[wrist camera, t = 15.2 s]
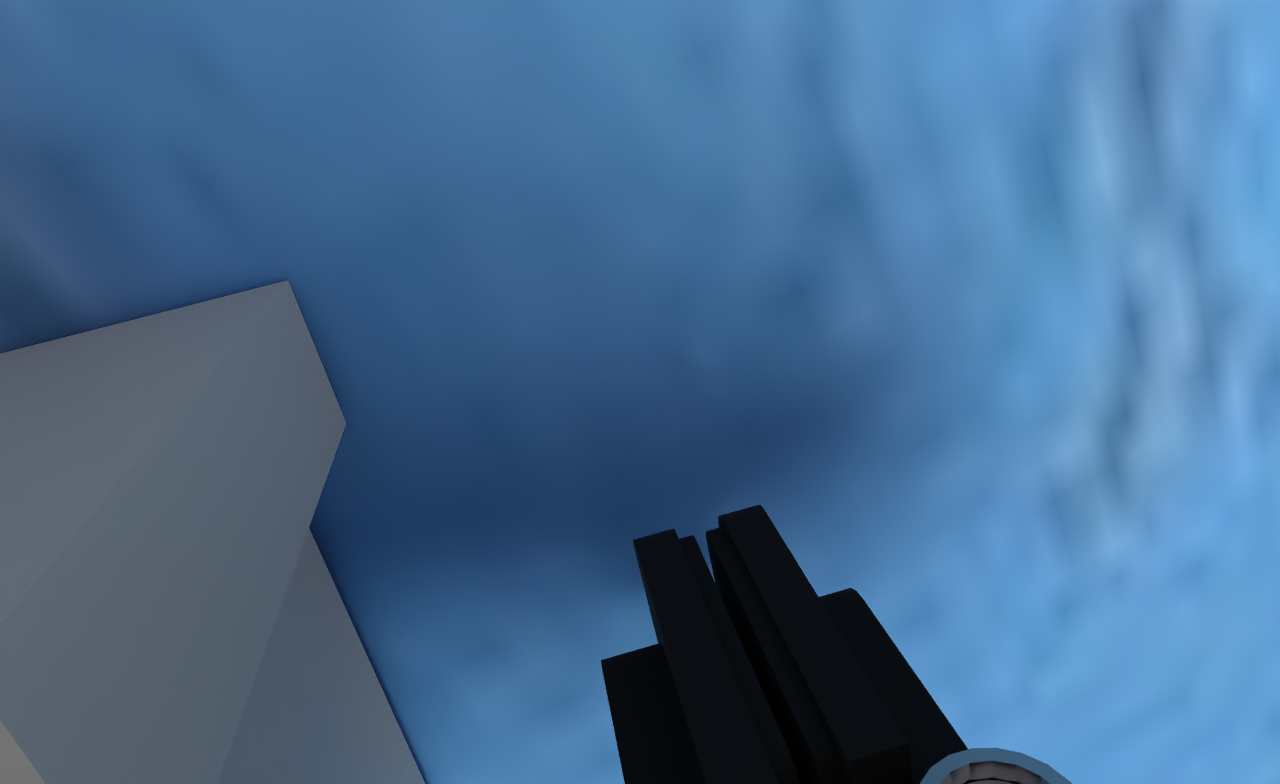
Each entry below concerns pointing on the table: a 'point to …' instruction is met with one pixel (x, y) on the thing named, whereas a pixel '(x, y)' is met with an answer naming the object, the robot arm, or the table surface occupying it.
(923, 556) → the table surface
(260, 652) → the sliding end cap
